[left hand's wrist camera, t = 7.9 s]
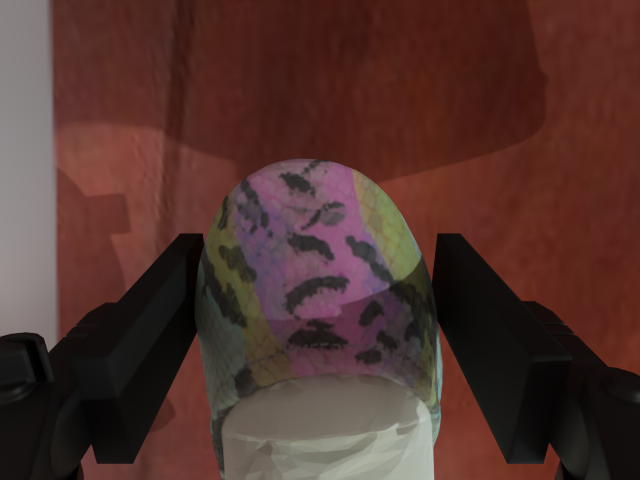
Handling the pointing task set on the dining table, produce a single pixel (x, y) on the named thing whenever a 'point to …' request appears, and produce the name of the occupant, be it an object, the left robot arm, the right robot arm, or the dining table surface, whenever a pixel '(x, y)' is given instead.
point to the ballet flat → (317, 330)
